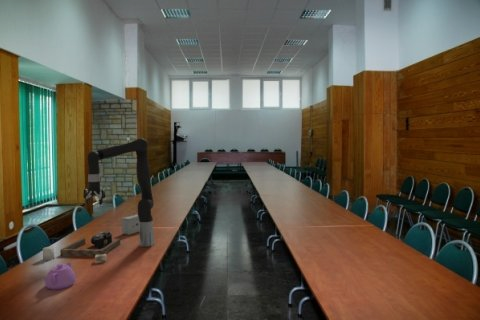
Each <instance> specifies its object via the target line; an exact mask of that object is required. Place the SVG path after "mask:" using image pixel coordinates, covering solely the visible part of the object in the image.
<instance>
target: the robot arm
mask: <svg viewBox="0 0 480 320" xmlns="http://www.w3.org/2000/svg"><path fill="white" fill-rule="evenodd" d="M148 145H149V144H148V141H147V140H146V139H144V138H142V137H139V138H137V139H135V140H133V141H130V142H128V143H124V144H119V145H118V144H117V145H113V146H110V147H105V148H102V149H97V150H93V151H90V152H89V153H88V154H87V166H88V167H87V168H88V171H87V173H88V176H87V188H84V189H83V198H84V199H85V200H86V204H87V205H88V206H89V205H90V204H91V197H93V196H94V197H97V198H99V199H98V201H99V202H98V203H99V204H98V205H100V206H101V205H102V204H103V202H104V201H103V199H106V189H101V174H100V172H101V171H100V170H101V169H100V162H99V161H101V160H105V159H109V158H110V159H111V158H115V157H118V156H121V155H124V154H127V153H135V155H136V165H135V166H136V180H137V184H138V185H139V186H138V187H139V189H140V191H141V193H140V194H141V199H140V200H139V201H138V202H137V213H138V218H139V232H138V235H139V236H138V237H139V247H142V248H143V247H144V248H147V247H152V246H154V245H155V230H154V223H153V221H154V218H153V216H152V209H153V208H154V197H153V193H152V181H151V180H152V179H151V177H152V176H151V169H150V164H149V159H148V148H149V146H148Z"/></svg>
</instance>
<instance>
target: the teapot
mask: <svg viewBox="0 0 480 320" xmlns="http://www.w3.org/2000/svg"><path fill="white" fill-rule="evenodd" d="M75 273H76V272H74V270H73V269H72V263H71V262H67V263H66V264H63V263H58V264H57V265H56V266H54V267H51V269H49V271H48V273H47V275H46V278H45V282H44V285H45V287H46V288H48V289H49V290H56V291H57V290H62V289H66V288H69V287H71V286H72V285H73V284H74V283H75V282H76V279H77V278H76V277H77V276H76V274H75Z"/></svg>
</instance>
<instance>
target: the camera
mask: <svg viewBox="0 0 480 320" xmlns="http://www.w3.org/2000/svg"><path fill="white" fill-rule="evenodd" d="M112 233H113V232H111V231H100V232H99V233H97V234H96V235H95V234H94V235H93V236H92V237H91V239H90V242H91V244H92V245H94V250H100V249H103V248H104V247H106V246H107V245H109V244H111V243H112V242H113V235H112Z"/></svg>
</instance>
